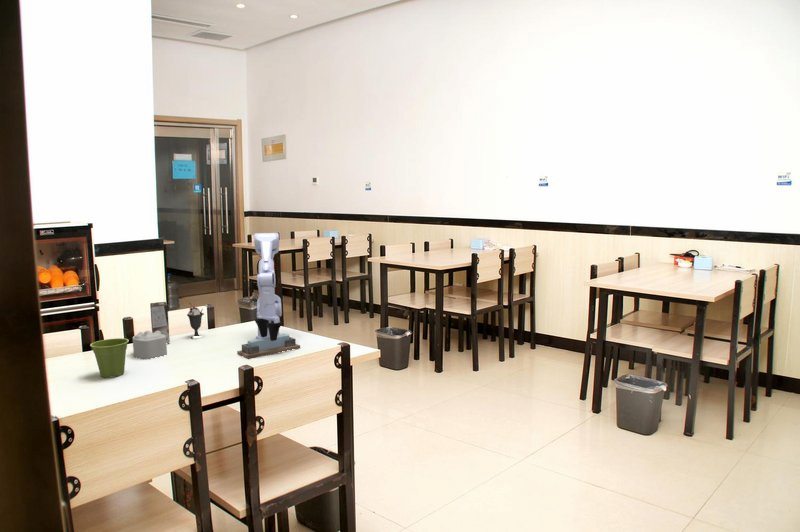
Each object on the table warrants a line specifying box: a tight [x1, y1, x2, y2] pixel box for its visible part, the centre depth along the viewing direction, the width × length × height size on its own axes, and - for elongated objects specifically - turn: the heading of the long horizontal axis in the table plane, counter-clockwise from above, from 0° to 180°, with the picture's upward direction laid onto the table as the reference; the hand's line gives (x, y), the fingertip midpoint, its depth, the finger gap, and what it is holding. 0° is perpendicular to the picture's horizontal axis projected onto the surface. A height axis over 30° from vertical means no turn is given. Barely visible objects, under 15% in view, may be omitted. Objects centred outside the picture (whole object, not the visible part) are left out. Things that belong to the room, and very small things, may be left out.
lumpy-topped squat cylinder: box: [132, 330, 168, 360], centre depth 230 cm, size 10×13×9 cm
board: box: [236, 336, 301, 360], centre depth 232 cm, size 9×22×4 cm, turn 130°
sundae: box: [186, 302, 205, 336], centre depth 255 cm, size 7×7×15 cm
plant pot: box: [89, 337, 130, 378], centre depth 205 cm, size 12×12×11 cm
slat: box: [247, 333, 290, 351], centre depth 232 cm, size 3×16×4 cm, turn 130°
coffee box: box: [149, 301, 171, 343], centre depth 248 cm, size 9×6×16 cm
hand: (268, 338), depth 232 cm, fingers open, 7 cm apart
